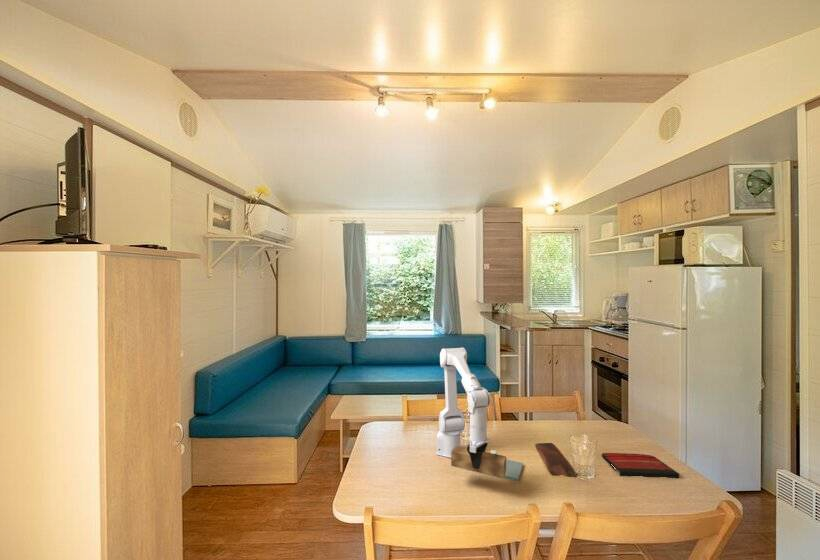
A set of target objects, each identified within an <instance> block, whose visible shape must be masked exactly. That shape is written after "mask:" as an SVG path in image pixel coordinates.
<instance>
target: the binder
mask: <svg viewBox="0 0 820 560" xmlns="http://www.w3.org/2000/svg"><path fill="white" fill-rule="evenodd" d="M601 457H602V458H603V459H604V461H605V462H606V461H607V462H608V463H609V464H610V465H609V464H608V463H607V462H606V463H607V464H608V465H609V466H610V467H611V466H612V465H613V466H614V467H615V468H616V471H618V472H619V477H631V476H643V477H642V478H660V477H667V478H666V479H680V473H679V472H677V471H676V470H675V469H673V468H671V467H670V466H668V465H667V464H666V463H664V462H663V461H662V460H660V459H659V458H657V457H655V456H653V455H650V454H641V453H625V452H624V453H621V452H620V453H619V452H603V453H602V454H601ZM611 464H612V465H611ZM613 466H612V467H611V469H612V470H614V467H613Z"/></svg>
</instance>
